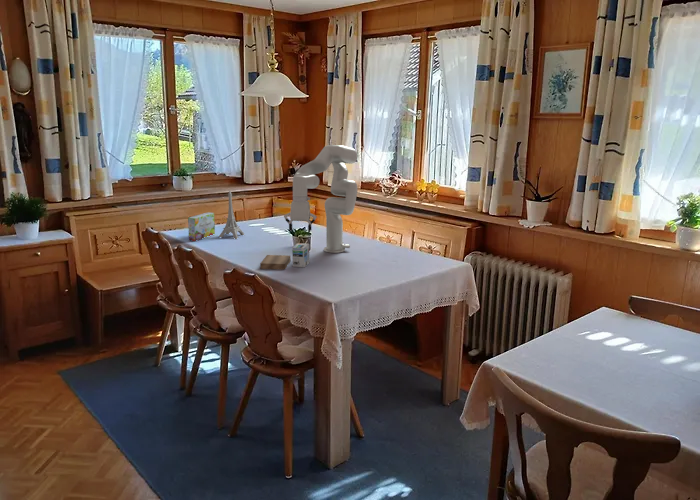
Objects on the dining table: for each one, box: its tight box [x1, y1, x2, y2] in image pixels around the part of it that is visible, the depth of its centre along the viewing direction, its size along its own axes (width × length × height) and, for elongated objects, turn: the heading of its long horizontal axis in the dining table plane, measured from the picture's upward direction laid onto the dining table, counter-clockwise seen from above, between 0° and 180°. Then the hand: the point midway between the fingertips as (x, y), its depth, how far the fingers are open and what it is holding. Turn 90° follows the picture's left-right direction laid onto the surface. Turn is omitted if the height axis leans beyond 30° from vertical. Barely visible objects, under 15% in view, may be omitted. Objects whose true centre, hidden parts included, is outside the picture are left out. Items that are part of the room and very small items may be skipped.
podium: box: [259, 254, 291, 270], centre depth 298 cm, size 13×17×3 cm
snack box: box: [187, 211, 216, 242], centre depth 356 cm, size 21×6×15 cm, turn 159°
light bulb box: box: [291, 242, 310, 268], centre depth 298 cm, size 11×7×11 cm, turn 168°
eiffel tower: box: [218, 190, 245, 240], centre depth 359 cm, size 13×13×30 cm
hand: (300, 231), depth 294 cm, fingers open, 9 cm apart
